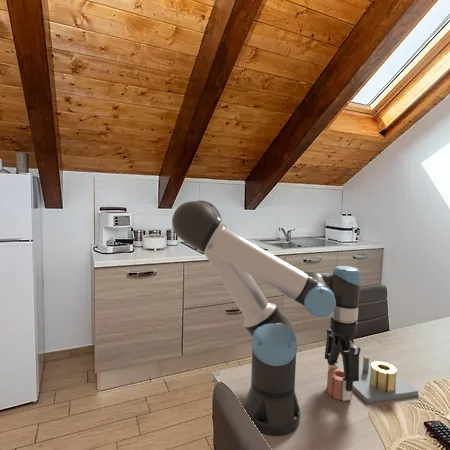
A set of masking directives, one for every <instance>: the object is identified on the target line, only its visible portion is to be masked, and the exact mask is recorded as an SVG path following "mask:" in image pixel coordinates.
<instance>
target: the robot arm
mask: <svg viewBox="0 0 450 450" xmlns="http://www.w3.org/2000/svg"><path fill="white" fill-rule="evenodd" d="M171 225H172V229H173V231H174V233H175V235H176V236H177V237H178V238H179V239H180V240H182V242H184V243H186V244H188V245H190V246H192V247H193V248H194V249H195V250H196V252H200V253H202V254H204V255H205V257H206V258H207V260H208V262H209V263H210V265H211V266H212V268H213V270H214V271H215V273H216V274H217V276H218V278H219V279H220V281H221V282H222V283H223V285H224V286H225V288H226V289H227V291H228V293H229V294H230V296H231V297H232V299H233V301H234V302H235V304H236V305H237V308H239V310H240V312H241V314H242V315H243V317H244V322H243V326H244V327H245V328H246V330H247V331H248V333H249V336H251V347H252V349H251V376H250V379H251V380H250V387H249V390H248V392H247V395H246V397H245V400H244V404H243V410H244V409H245V410H246V412H247V414H248V415H249V417H250V418H251V420H252V421H253V422H254V424H255V425H256V427H257V428H258V430H259V431H260V433H262V434H266V435H269V436H270V435H271V436H283V435H284V436H285V435H289V434H291V433H292V432H294V431H296V429H297V428H298V427H299V425H300V424H301V423H300V422H301V408H300V405H299V402H298V398H297V394H296V392H295V391H296V390H295V389H296V388H295V386H296V365H297V351H298V341H297V336H296V334H295V332H293V328H292V325H291V322H290V321H289V319H288V317H286V315H284V314H283V313H282V312H281V311H280V309H279V308H278V306H277V305H276V303H271V302H269V301H268V299H267V297H265V295H264V294H263V291H262V290H261V289H260V287H259V285H258V284H257V282H256V280H255V279H258V280H259V281H260V282H261V283H262V282H263V283H264V284H265V285H267V286H270V287H271V288H273V289H274V290H276V291H278V292H280V293H282V294H283V295H285V296H287V297H289V298H290V299H292V300H293V301H295V302H297V303H298V304H300V305H301V306H304V308H305V310H306V311H308V312H309V314H310V315H312V316H314V317H315V318H325V317H328V316H331V317H330V323H329V324H330V325H329V329H328V328H327V329H326V342H325V343H326V344H325V351H324V359H325V360H327V364H328V367H327V369H328V370H327V372H328V371H329V369H332V368H338V363H339V361H338V359H339V356H340V355H341V358H342V365H343V367H344V375H345V378H343V382H342V396H341V400H342V401H343V402H344V401H350V400H352V397H351V392H352V393H353V391H352V389H353V382H355V381H359V363H360V353H361V350H362V349H361V347H360V346H356V345H355V344H354V343H355V342H354V336H355V335H356V334H357V333H358V320H359V319H358V318H359V302H360V292H361V285H362V283H361V277H362V276H361V271H360V270H359V269H358V268H357V267H354V266H349V265H348V266H347V265H337V266H335V267H334V268H333V272H319V271H308V270H300V269H298V268H297V267H295V266H293V265H292V264H289V263H288V262H286V261H284V260H283V259H281V258H279V257H277V256H275V255H274V254H271V253H270V252H269V251H267V250H265V249H264V248H261V247H259V246H257V244H255V243H252V241H249V240H247V239H246V238H244V237H242V236H240V235H239V234H237V233H235V232H233V231H232V230H230V229H228V228H227V227H226V225H225V223H224V221H223V220H222V216H221V214H220V211H219V209H218V208H217V207H216V206H215V205H214V204H213V203H211V202H209V201H205V200H195V201H194V200H193V201H191V200H190V201H186V202H183V203H181V204H180V205H179V206H178V207H177V208H176V209H175V211H174V213H173V215H172V219H171ZM254 278H255V279H254ZM259 431H258V432H259Z"/></svg>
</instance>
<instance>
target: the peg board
mask: <svg viewBox="0 0 450 450" xmlns="http://www.w3.org/2000/svg"><path fill="white" fill-rule="evenodd" d="M376 361H377V360H375V361H370V357H369V356H366V355H364V356H363V358H362V362H359V381H355V382H353V391H352V392H354V393H355V394H356V395H357V396H358V397H359V398H360V399H362V401H364V403H366V404H370V403H371V404H372V403H378V402H385V401H390V400H397V399H405V398H412V397H417V395H418V396H419V390H418V389H416V388H415V387H414V386H413V385H411V384H409V382H407V381H406V380H404V378H403V379H402V378H401V377H400V376H399V375H397V374H396V387H395V391H394V392H391V393H387V392H381V391H378V390H377V389H374V388H373V387H372V386H371V385H370V372H371V364H372V363H373V362H376ZM337 365H338V364H337ZM339 368H341V369H344V367H343V364H339V365H338V369H339ZM382 370H385V369H382Z"/></svg>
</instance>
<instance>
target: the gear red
mask: <svg viewBox="0 0 450 450" xmlns="http://www.w3.org/2000/svg"><path fill="white" fill-rule="evenodd" d="M343 378H345V375H344V369H341V368H339V369H338V368H332V369H329V371H328V370H327V382H326V383H327V384H326V392H327V393H328V395H329V397H331V398H333V399H336V400H338V401H341V400H342V399H341V396H342V382H343ZM353 392H354V391H353V389H352V392H351V398H352V397H353Z"/></svg>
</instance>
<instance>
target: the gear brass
mask: <svg viewBox="0 0 450 450" xmlns="http://www.w3.org/2000/svg"><path fill="white" fill-rule="evenodd" d="M375 361H376V362H373V361H372V362H373V363H372V364H371V372H370V385H371V386H372V387H373V388H374V389H377V390H378V391H381V392H387V393H391V392H394V391H395V387H396V375H397V371H398V368H396V366H394V365H393V364H389V363H388V362H385V361H378V360H375ZM382 369H385V370H382Z"/></svg>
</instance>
